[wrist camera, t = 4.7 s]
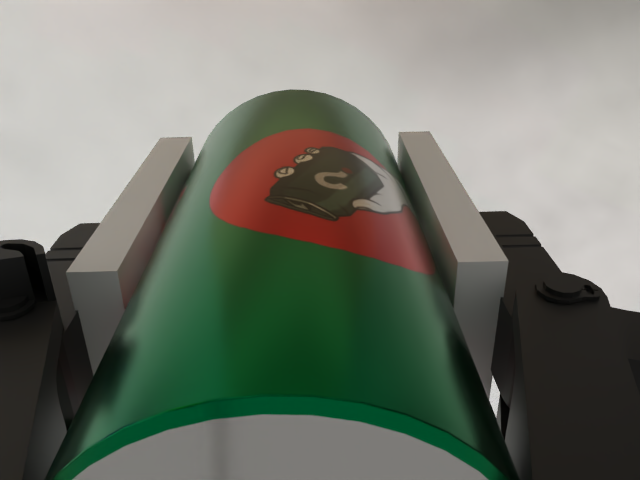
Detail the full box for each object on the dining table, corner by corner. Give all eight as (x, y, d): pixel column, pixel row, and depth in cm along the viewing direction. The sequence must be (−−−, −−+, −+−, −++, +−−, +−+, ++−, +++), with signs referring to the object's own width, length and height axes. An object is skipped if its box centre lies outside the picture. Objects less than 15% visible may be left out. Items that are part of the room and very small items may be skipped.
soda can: (164, 126, 15) (-198, 626, 4) (359, 52, 14) (524, 426, 3) (246, 290, 17) (146, 893, 6) (418, 233, 16) (631, 805, 6)
